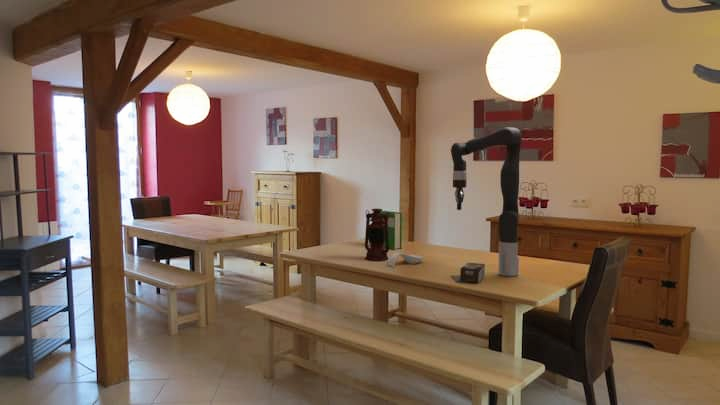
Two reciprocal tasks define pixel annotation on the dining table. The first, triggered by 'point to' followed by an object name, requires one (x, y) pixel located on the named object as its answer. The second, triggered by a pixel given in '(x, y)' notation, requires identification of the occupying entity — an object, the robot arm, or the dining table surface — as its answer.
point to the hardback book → (394, 230)
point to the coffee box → (472, 272)
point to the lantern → (377, 236)
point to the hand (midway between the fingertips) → (459, 209)
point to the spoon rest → (408, 258)
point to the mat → (458, 278)
